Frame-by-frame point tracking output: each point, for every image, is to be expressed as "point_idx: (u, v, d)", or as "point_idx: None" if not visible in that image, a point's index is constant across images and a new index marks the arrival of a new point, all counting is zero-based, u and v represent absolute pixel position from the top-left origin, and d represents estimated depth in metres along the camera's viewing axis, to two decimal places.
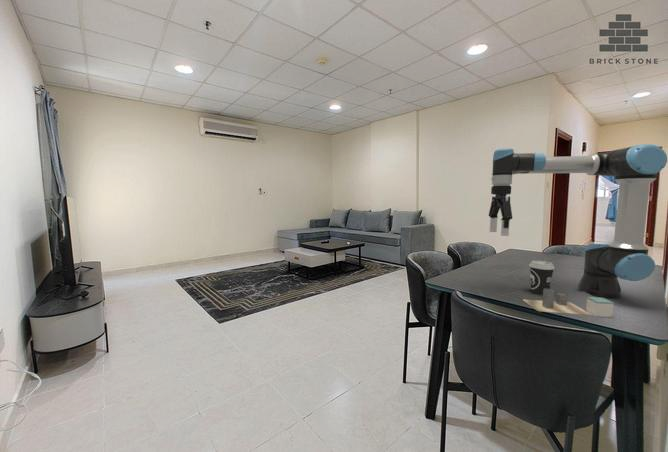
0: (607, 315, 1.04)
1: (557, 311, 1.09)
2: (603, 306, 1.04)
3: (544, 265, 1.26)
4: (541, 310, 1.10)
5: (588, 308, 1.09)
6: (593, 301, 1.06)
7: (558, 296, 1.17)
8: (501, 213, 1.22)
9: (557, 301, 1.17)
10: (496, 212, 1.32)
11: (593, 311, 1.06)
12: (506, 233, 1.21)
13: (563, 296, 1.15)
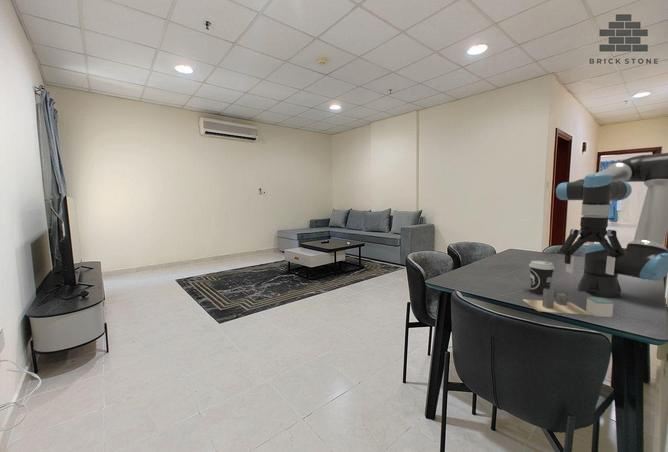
0: (607, 315, 1.04)
1: (557, 311, 1.09)
2: (603, 306, 1.04)
3: (544, 265, 1.26)
4: (541, 310, 1.10)
5: (588, 308, 1.09)
6: (593, 301, 1.06)
7: (558, 296, 1.17)
8: None
9: (557, 301, 1.17)
10: (608, 249, 1.06)
11: (593, 311, 1.06)
12: (569, 270, 1.09)
13: (563, 296, 1.15)
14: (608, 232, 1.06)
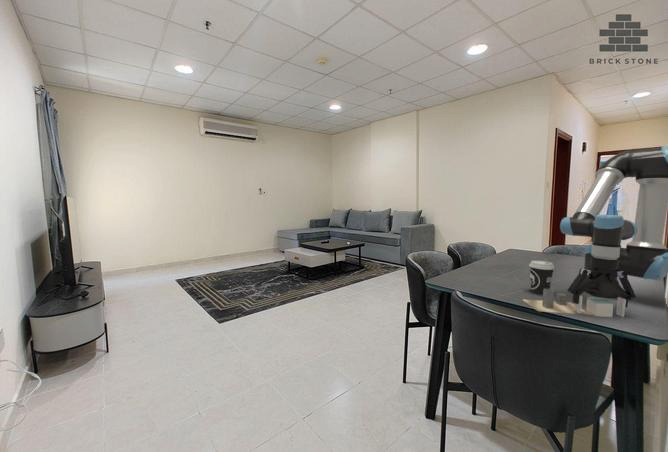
0: (607, 315, 1.04)
1: (557, 311, 1.09)
2: (603, 306, 1.04)
3: (544, 265, 1.26)
4: (541, 310, 1.10)
5: (588, 308, 1.09)
6: (593, 301, 1.06)
7: (558, 296, 1.17)
8: None
9: (557, 301, 1.17)
10: (618, 291, 1.05)
11: (593, 311, 1.06)
12: (577, 309, 1.08)
13: (563, 296, 1.15)
14: (619, 273, 1.04)
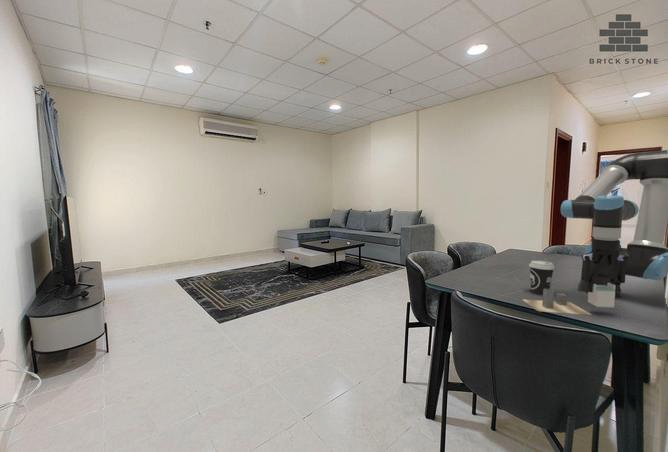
0: (609, 302, 1.04)
1: (557, 311, 1.09)
2: (605, 293, 1.04)
3: (544, 265, 1.26)
4: (541, 310, 1.10)
5: None
6: None
7: (558, 296, 1.17)
8: None
9: (557, 301, 1.17)
10: (611, 274, 1.05)
11: None
12: (591, 298, 1.07)
13: (563, 296, 1.15)
14: (620, 256, 1.04)
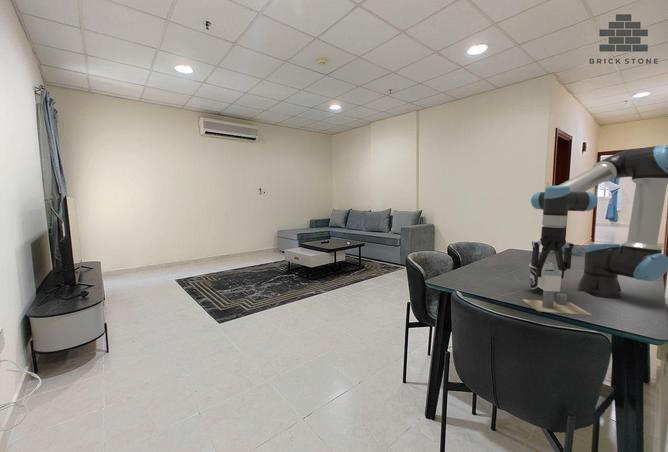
0: (555, 286, 1.10)
1: (557, 311, 1.09)
2: (552, 278, 1.10)
3: (544, 265, 1.26)
4: (541, 310, 1.10)
5: None
6: None
7: (558, 296, 1.17)
8: None
9: (557, 301, 1.17)
10: (558, 261, 1.11)
11: (543, 283, 1.12)
12: (540, 283, 1.13)
13: (563, 296, 1.15)
14: (566, 243, 1.10)
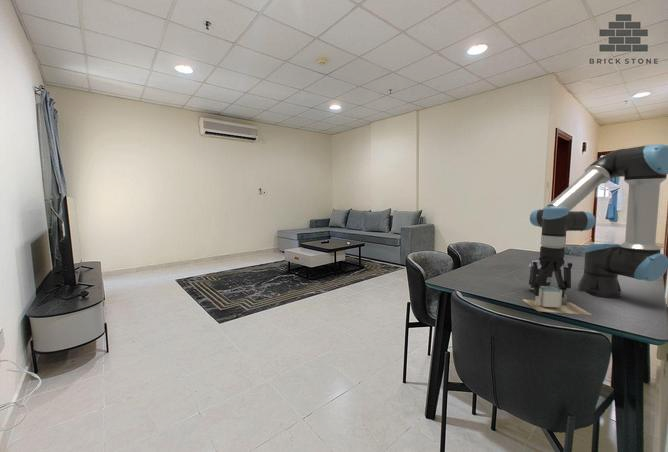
0: (554, 302, 1.11)
1: (557, 311, 1.09)
2: (551, 294, 1.11)
3: None
4: (541, 310, 1.10)
5: None
6: (542, 289, 1.13)
7: None
8: None
9: None
10: (558, 280, 1.12)
11: (542, 299, 1.13)
12: (537, 301, 1.14)
13: None
14: (565, 263, 1.11)
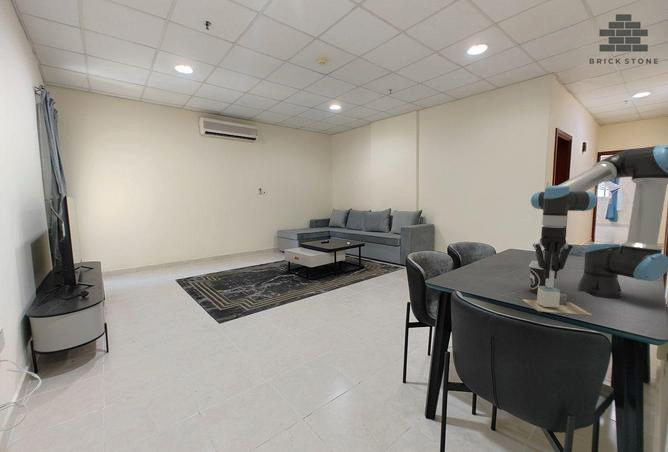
0: (554, 302, 1.11)
1: (557, 311, 1.09)
2: (551, 294, 1.11)
3: None
4: (541, 310, 1.10)
5: (538, 296, 1.15)
6: (542, 289, 1.13)
7: None
8: None
9: None
10: (554, 261, 1.11)
11: (542, 299, 1.13)
12: (548, 284, 1.13)
13: (563, 296, 1.15)
14: (566, 244, 1.10)
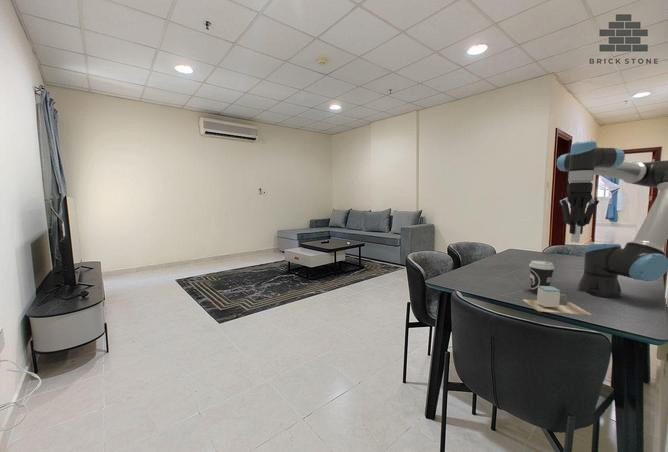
0: (554, 302, 1.11)
1: (557, 311, 1.09)
2: (551, 294, 1.11)
3: (544, 265, 1.26)
4: (541, 310, 1.10)
5: (538, 296, 1.15)
6: (542, 289, 1.13)
7: None
8: None
9: None
10: (580, 216, 1.14)
11: (542, 299, 1.13)
12: (573, 239, 1.15)
13: (563, 296, 1.15)
14: (592, 200, 1.12)
